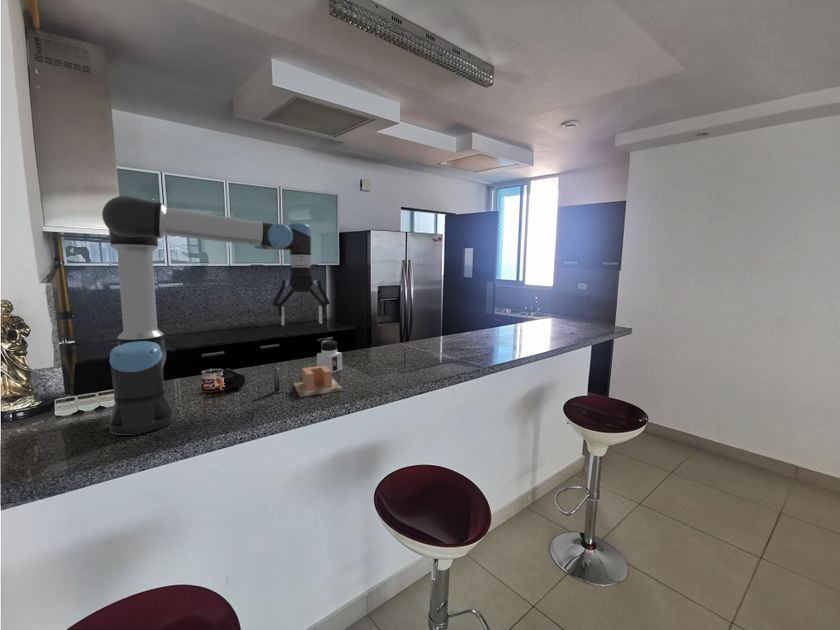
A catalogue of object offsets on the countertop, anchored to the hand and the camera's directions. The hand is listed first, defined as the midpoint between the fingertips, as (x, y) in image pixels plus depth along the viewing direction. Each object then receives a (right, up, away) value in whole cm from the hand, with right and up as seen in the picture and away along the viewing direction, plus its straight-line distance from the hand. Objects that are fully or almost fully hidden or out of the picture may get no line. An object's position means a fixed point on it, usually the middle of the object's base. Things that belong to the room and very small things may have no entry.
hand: (302, 324), depth 144 cm
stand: (-8, -25, -5) cm, 26 cm away
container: (+5, -21, +24) cm, 32 cm away
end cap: (-26, -24, -1) cm, 36 cm away
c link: (+6, -23, 0) cm, 24 cm away
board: (+6, -24, 0) cm, 25 cm away
